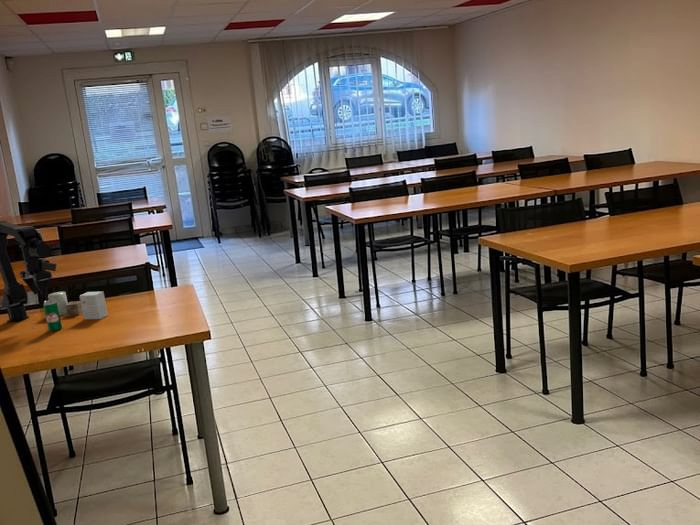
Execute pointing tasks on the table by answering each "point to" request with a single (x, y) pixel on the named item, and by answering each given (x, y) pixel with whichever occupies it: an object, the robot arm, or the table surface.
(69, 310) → the walnut block
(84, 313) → the small box
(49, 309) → the soda can
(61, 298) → the sage mug
